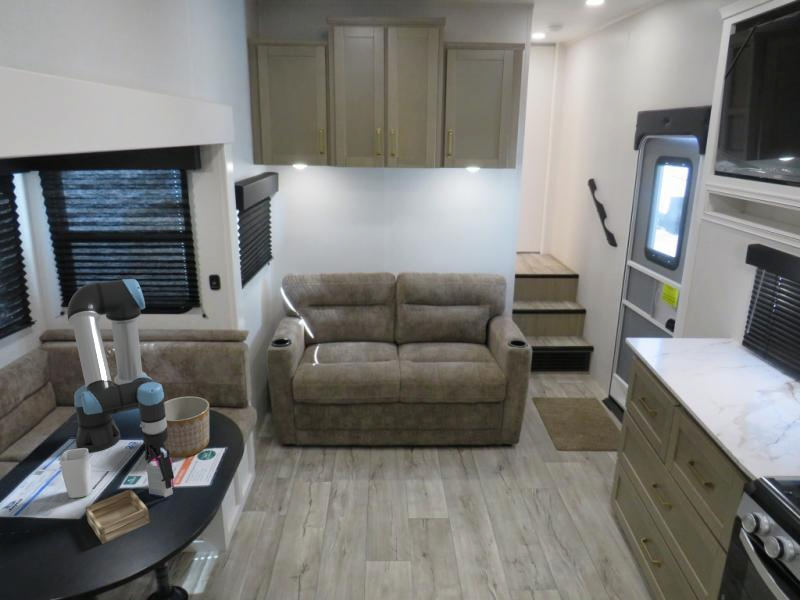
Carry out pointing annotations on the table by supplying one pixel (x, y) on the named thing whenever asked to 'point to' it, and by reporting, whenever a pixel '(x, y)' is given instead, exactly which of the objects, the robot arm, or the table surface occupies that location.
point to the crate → (117, 515)
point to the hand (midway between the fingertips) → (161, 487)
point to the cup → (76, 472)
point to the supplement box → (155, 478)
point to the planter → (187, 425)
